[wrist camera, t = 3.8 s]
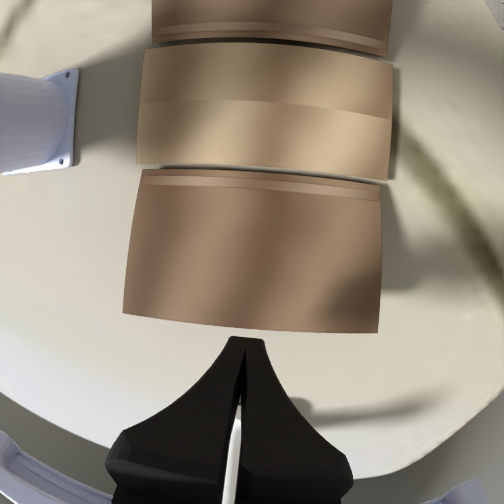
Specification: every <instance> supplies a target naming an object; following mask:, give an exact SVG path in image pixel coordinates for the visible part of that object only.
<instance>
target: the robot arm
mask: <svg viewBox="0 0 504 504" xmlns="http://www.w3.org/2000/svg"><path fill="white" fill-rule="evenodd" d="M69 73H70V75H69V77H68V74H69ZM78 79H79V69H77V68H71V69H68V70H65V71H61V72H58V73H55V74H52V75H50V76H47V77H44V78H41V79H38V78H33V77H27V76H21V75H15V74H8V73H0V173H3V175H5V176H6V175H12V174H19V173H26V172H33V171H41V170H50V169H59V168H68V167H71V165H72V164H73V138H74V118H75V106H76V95H77V87H78ZM62 159H63V161H64V162H63V164H62ZM240 395H241V445H240V454H239V464H238V473H237V482H236V491H235V500H234V504H341V498H342V497H343V496H344V495H345V494H346V493H347V492H348V491H349V490H350V488H351V487H352V486H353V484H354V483H353V475H352V471H351V468H350V465H349V463H348V460H347V458H346V456H345V455H344V454H343V453H342V452H340V451H339V450H338V449H336V448H335V447H334V446H332V445H331V444H330V443H329V442H328V441H326V440H325V439H324V438H323V437H322V436H321V435H320V434H319V433H318V432H317V431H316V430H315V429H314V428H313V427H312V426H311V425H310V424H309V423H308V422H307V420H306V419H305V418H304V417H303V416H302V415H301V414H300V412H299V411H298V410H297V408H296V407H295V406H294V404H293V403H292V401H291V400H290V399H289V397H288V396H287V394H286V392H285V391H284V389H283V387H282V385H281V384H280V382H279V380H278V378H277V376H276V374H275V372H274V369H273V367H272V365H271V363H270V360H269V357H268V355H267V351H266V348H265V343H264V341H263V340H262V339H257V338H247V337H238V336H231V337H229V339H228V341H227V343H226V345H225V347H224V349H223V350H222V352H221V353H220V355H219V356H218V357H217V359H216V360H215V361H214V363H213V364H212V366H211V367H210V368H209V369H208V370H207V371H206V373H205V374H204V375H203V376H202V377H201V378H200V379H199V380H198V381H197V382H196V383H195V384H194V385H193V386H192V387H191V388H190V389H189V390H188V391H187V392H186V393H185V394H183V395H182V396H181V397H180V398H178V399H177V400H176V401H175V402H173V403H172V404H171V405H169V406H168V407H166V408H165V409H163V410H162V411H160V412H158V413H157V414H155V415H153V416H152V417H150V418H148V419H146V420H145V421H142V422H140V423H138V424H136V425H134V426H132V427H130V428H127V429H125V430H123V431H122V432H121V434H120V435H119V436H118V438H117V439H116V441H115V442H114V444H113V445H112V447H111V450H110V452H109V454H108V456H107V459H106V461H105V467H106V469H107V471H108V472H109V474H110V475H111V477H112V478H113V480H114V481H115V482H116V484H117V487H116V490H115V493H114V495H113V496H112V495H109V494H107V493H104V492H101V491H99V490H97V489H94V488H91V487H89V486H87V485H85V484H83V483H80V482H78V481H76V480H74V479H72V478H70V477H68V476H66V475H64V474H62V473H60V472H58V471H56V470H54V469H52V468H50V467H48V466H47V465H45V464H43V463H41V462H40V461H38V460H37V459H35V458H33V457H32V456H30V455H28V454H27V453H25V452H23V451H22V450H20V449H19V447H18V446H17V444H16V443H15V442H14V441H13V440H12V439H11V438H10V437H9V436H8V435H7V434H5V433H4V432H3V431H1V430H0V493H2V494H3V495H4V496H5V497H7V498H8V499H9V500H11V501H12V502H14V503H15V504H222V500H223V492H224V484H225V476H226V468H227V460H228V452H229V444H230V439H231V434H232V430H233V425H234V421H235V417H236V413H237V408H238V404H239V400H240ZM421 504H489V502H488V500H487V497H486V495H485V492H484V489H483V487H482V484H481V482H480V479H479V477H475V478H473V479H471V480H468V481H466V482H464V483H461V484H459V485H457V486H455V487H454V488H452V489H451V490H450V491H448V492H447V493H446V494H445V495H444V496H442V497H439V498H436V499H433V500H431V501H428V502H425V503H421Z"/></svg>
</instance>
